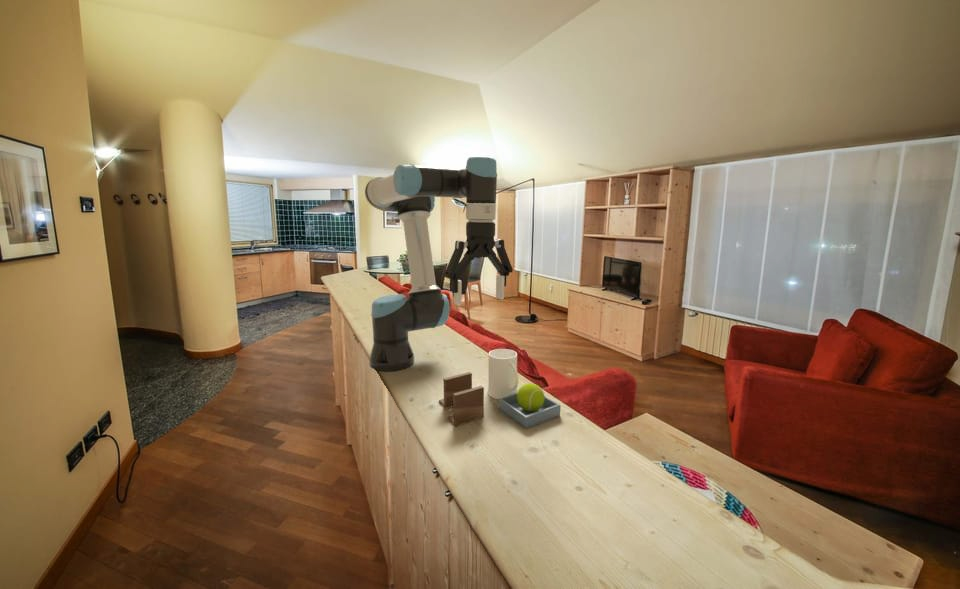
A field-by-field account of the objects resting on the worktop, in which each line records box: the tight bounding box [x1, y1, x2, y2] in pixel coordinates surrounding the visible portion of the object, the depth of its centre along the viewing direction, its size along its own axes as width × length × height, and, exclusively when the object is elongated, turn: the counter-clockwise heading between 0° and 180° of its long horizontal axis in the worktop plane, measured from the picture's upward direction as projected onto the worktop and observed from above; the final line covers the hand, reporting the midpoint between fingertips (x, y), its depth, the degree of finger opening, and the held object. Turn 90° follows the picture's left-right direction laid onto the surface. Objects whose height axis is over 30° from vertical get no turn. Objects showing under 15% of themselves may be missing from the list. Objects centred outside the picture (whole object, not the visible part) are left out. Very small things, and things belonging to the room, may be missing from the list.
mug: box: [487, 348, 520, 400], centre depth 105 cm, size 12×8×12 cm
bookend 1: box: [438, 371, 473, 409], centre depth 102 cm, size 4×8×8 cm, turn 123°
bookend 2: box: [447, 385, 485, 427], centre depth 93 cm, size 4×8×8 cm, turn 123°
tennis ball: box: [517, 382, 545, 412], centre depth 96 cm, size 7×7×7 cm
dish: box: [497, 392, 561, 430], centre depth 96 cm, size 11×11×3 cm
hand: (479, 301), depth 101 cm, fingers open, 13 cm apart
